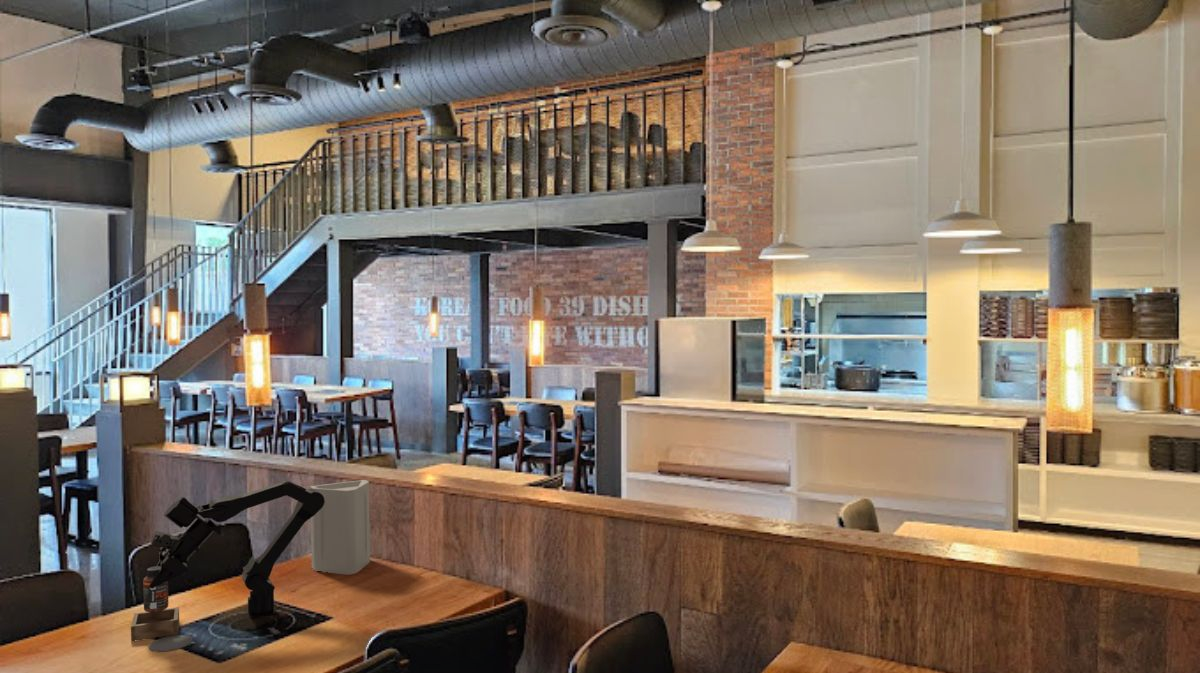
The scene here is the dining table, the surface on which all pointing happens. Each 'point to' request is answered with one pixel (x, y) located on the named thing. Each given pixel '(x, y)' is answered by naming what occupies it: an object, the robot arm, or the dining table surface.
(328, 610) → the dining table surface
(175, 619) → the walnut box
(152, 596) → the supplement bottle
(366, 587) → the dining table surface
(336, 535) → the grey rounded wastebasket
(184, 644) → the rubber mat
